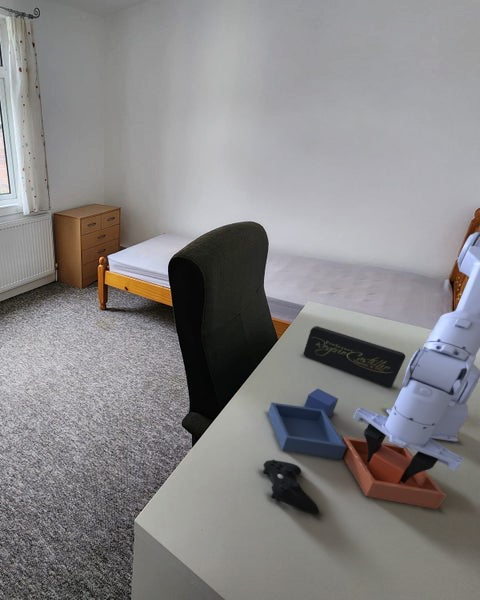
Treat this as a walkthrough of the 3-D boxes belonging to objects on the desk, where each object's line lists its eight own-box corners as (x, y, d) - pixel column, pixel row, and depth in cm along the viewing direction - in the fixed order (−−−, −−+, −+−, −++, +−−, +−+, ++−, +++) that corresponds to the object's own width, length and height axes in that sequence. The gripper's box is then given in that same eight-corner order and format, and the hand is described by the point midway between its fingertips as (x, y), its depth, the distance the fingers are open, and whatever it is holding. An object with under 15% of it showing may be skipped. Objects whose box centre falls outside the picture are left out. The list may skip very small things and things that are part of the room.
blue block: (332, 413, 80) (338, 398, 79) (323, 421, 78) (329, 405, 76) (312, 402, 84) (317, 388, 82) (303, 409, 82) (308, 394, 80)
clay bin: (398, 458, 69) (405, 445, 67) (437, 509, 59) (446, 495, 58) (338, 449, 71) (343, 436, 69) (365, 496, 61) (372, 482, 60)
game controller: (325, 513, 57) (293, 491, 56) (300, 526, 59) (269, 505, 59) (302, 466, 66) (275, 446, 65) (281, 478, 68) (254, 459, 67)
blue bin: (319, 421, 78) (323, 409, 77) (341, 459, 68) (346, 447, 67) (267, 414, 80) (271, 402, 79) (282, 450, 71) (286, 437, 69)
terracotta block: (403, 478, 64) (412, 461, 62) (394, 489, 62) (403, 472, 60) (374, 461, 68) (382, 444, 66) (365, 471, 65) (373, 454, 63)
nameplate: (302, 355, 103) (311, 327, 99) (304, 353, 105) (313, 325, 101) (390, 388, 89) (405, 356, 85) (392, 385, 90) (406, 354, 86)
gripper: (356, 398, 62) (334, 452, 68) (468, 452, 51) (430, 511, 57) (372, 385, 66) (350, 437, 71) (480, 433, 55) (444, 491, 60)
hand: (386, 469), depth 64 cm, fingers closed on terracotta block, 4 cm apart
